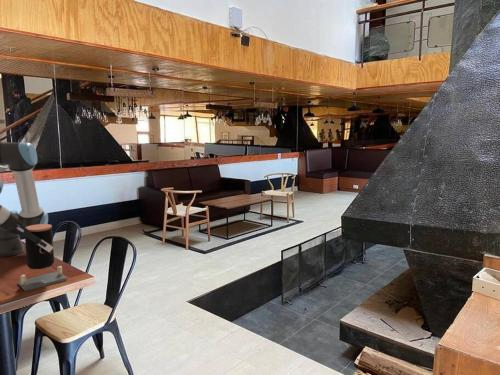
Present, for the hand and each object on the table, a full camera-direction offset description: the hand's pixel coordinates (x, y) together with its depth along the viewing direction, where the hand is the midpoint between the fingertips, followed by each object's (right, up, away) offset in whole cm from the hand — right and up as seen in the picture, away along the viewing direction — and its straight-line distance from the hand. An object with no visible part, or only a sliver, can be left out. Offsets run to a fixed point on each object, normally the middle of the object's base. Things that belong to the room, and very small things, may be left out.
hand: (46, 246), depth 165 cm
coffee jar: (-2, -9, -1) cm, 9 cm away
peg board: (-2, -16, +1) cm, 16 cm away
